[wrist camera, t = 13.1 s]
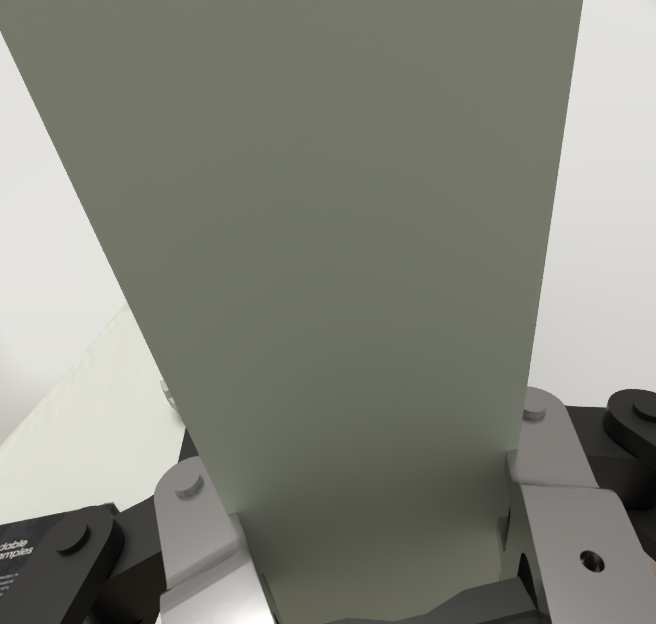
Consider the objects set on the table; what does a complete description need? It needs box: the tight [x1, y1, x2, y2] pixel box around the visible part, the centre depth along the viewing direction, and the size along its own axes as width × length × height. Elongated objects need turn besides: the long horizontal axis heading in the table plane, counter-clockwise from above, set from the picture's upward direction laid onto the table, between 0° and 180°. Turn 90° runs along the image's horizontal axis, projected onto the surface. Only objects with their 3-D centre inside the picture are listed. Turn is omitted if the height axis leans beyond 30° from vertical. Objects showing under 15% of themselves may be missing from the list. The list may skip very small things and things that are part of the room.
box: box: [0, 0, 583, 624], centre depth 10 cm, size 5×5×18 cm
